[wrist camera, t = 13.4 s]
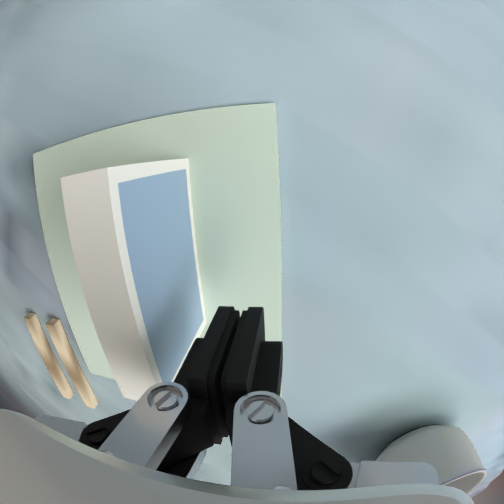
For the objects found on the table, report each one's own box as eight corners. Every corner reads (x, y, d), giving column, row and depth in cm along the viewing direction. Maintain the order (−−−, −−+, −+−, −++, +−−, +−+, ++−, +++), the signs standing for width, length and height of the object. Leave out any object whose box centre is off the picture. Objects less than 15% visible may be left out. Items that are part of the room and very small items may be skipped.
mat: (36, 153, 14) (32, 154, 14) (275, 104, 12) (275, 103, 11) (92, 370, 20) (90, 372, 20) (281, 398, 18) (280, 403, 17)
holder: (30, 312, 19) (23, 317, 18) (59, 319, 19) (52, 325, 18) (68, 391, 23) (63, 396, 22) (98, 402, 22) (94, 409, 21)
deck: (151, 162, 13) (60, 177, 7) (188, 158, 13) (107, 167, 7) (174, 320, 16) (124, 397, 10) (207, 322, 16) (165, 407, 10)
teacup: (350, 439, 19) (356, 518, 11) (466, 389, 16) (498, 460, 8) (377, 483, 22) (382, 536, 15) (460, 450, 19) (475, 500, 12)
